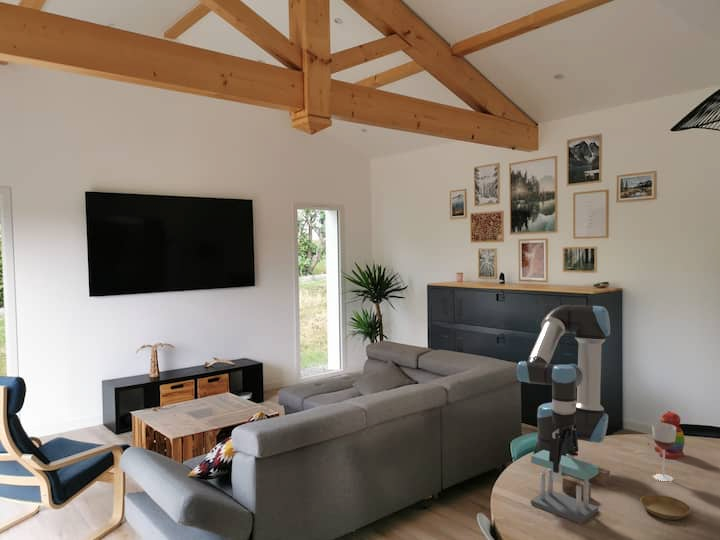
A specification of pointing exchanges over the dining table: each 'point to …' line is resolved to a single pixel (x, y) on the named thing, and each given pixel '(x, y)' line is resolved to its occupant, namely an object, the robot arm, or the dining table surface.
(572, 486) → the blocks
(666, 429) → the wineglass
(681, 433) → the stacking bear
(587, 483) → the peg stand
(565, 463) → the shelf board
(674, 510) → the plant saucer
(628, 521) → the dining table surface
